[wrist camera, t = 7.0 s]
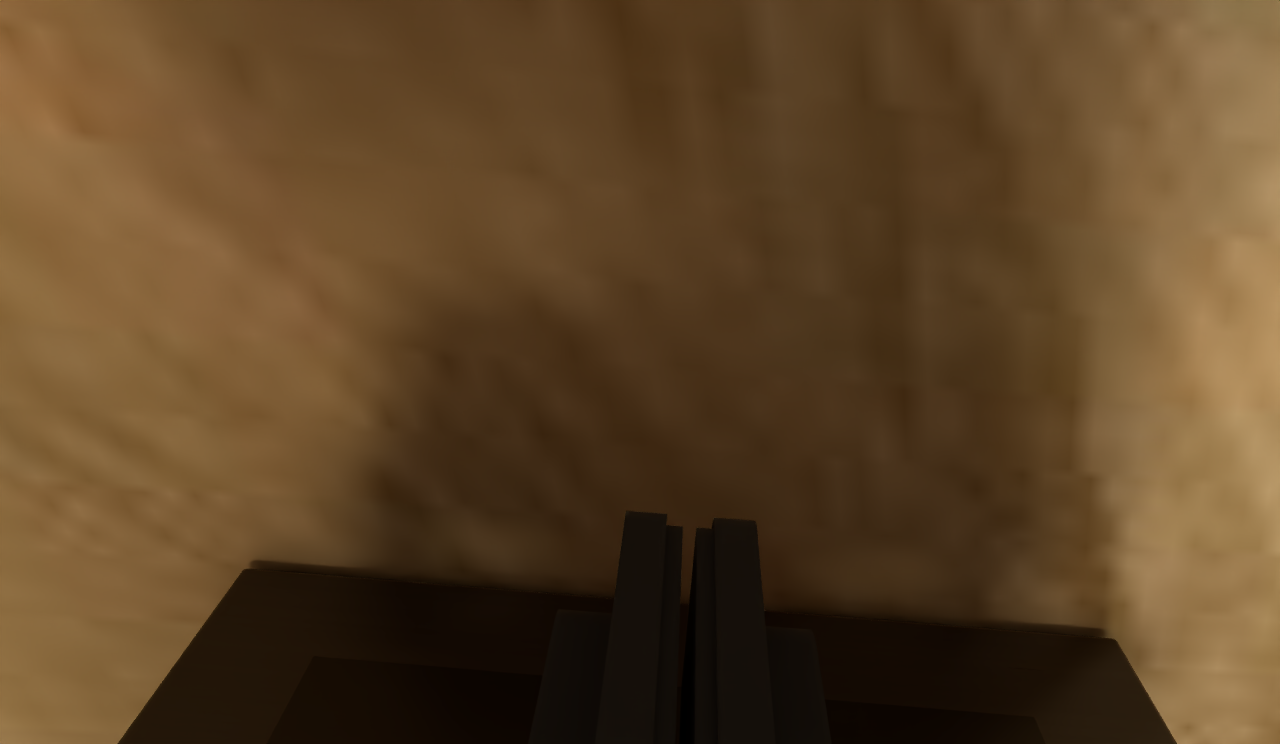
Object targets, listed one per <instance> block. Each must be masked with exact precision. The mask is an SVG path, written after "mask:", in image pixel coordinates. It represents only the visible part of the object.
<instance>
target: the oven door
mask: <svg viewBox="0 0 1280 744" xmlns="http://www.w3.org/2000/svg"><path fill="white" fill-rule="evenodd" d="M613 604H614V598H604V597H592V596H580V595H567V594H555V593H543V592H530V591H518V590H506V589H493V588H481V587H468V586H456V585H444V584H431V583H419V582H407V581H394V580H382V579H370V578H357V577H345V576H333V575H320V574H308V573H295V572H283V571H271V570H258V569H244V570H243V571H242V572H241V573H240V575H239V576H238V578H237V579H236V580H235V582H234V583H233V585H232V586H231V587H230V589H229V590H228V591H227V593H226V594H225V596H224V597H223V598H222V600H221V601H220V603H219V604H218V605H217V607H216V608H215V609H214V611H213V612H212V614H211V615H210V616H209V618H208V619H207V621H206V622H205V623H204V625H203V626H202V627H201V629H200V630H199V632H198V633H197V634H196V636H195V637H194V639H193V640H192V641H191V643H190V644H189V645H188V647H187V648H186V650H185V651H184V652H183V654H182V655H181V657H180V658H179V659H178V661H177V662H176V663H175V665H174V666H173V668H172V669H171V670H170V672H169V673H168V675H167V676H166V677H165V679H164V680H163V681H162V683H161V684H160V686H159V687H158V688H157V690H156V691H155V693H154V694H153V695H152V697H151V698H150V699H149V701H148V702H147V704H146V705H145V706H144V708H143V709H142V711H141V712H140V713H139V715H138V716H137V717H136V719H135V720H134V722H133V723H132V724H131V726H130V727H129V729H128V730H127V731H126V733H125V734H124V735H123V737H122V738H121V740H120V741H119V742H118V744H528V742H529V737H530V732H531V728H532V723H533V718H534V714H535V709H536V704H537V700H538V695H539V690H540V686H541V681H542V676H543V672H544V667H545V662H546V658H547V653H548V648H549V644H550V639H551V634H552V630H553V625H554V621H555V617H556V613H557V611H558V609H564V610H577V611H589V612H601V613H612V611H613ZM688 610H689V604H680V624H679V653H678V681H677V710H676V739H675V744H679V738H680V705H681V685H682V672H683V662H684V651H685V641H686V631H687V620H688ZM764 615H765V626H772V627H784V628H796V629H809V630H812V632H813V634H814V637H815V641H816V646H817V652H818V659H819V665H820V672H821V678H822V685H823V691H824V698H825V704H826V710H827V717H828V723H829V730H830V736H831V743H832V744H1177V743H1176V741H1175V740H1174V738H1173V736H1172V734H1171V733H1170V731H1169V729H1168V728H1167V726H1166V724H1165V722H1164V721H1163V719H1162V717H1161V716H1160V714H1159V712H1158V711H1157V709H1156V707H1155V705H1154V704H1153V702H1152V700H1151V699H1150V697H1149V695H1148V693H1147V692H1146V690H1145V688H1144V687H1143V685H1142V683H1141V682H1140V680H1139V678H1138V676H1137V675H1136V673H1135V671H1134V670H1133V668H1132V666H1131V665H1130V663H1129V661H1128V659H1127V658H1126V656H1125V654H1124V653H1123V651H1122V649H1121V647H1120V646H1119V644H1118V642H1117V641H1116V640H1114V639H1111V638H1099V637H1086V636H1074V635H1061V634H1049V633H1037V632H1024V631H1012V630H1000V629H987V628H975V627H963V626H950V625H938V624H926V623H913V622H901V621H888V620H876V619H864V618H851V617H839V616H827V615H814V614H802V613H790V612H777V611H765V610H764Z"/></svg>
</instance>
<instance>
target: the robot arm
mask: <svg viewBox="0 0 1280 744" xmlns="http://www.w3.org/2000/svg"><path fill="white" fill-rule="evenodd" d="M682 538H683V526H671V525H667V514H662V513H649V512H636V511H626V514H625V521H624V528H623V536H622V543H621V551H620V558H619V566H618V574H617V581H616V589H615V596H614V604H613V611H612V613H601V612H589V611H577V610H564V609H558V611H557V613H556V617H555V621H554V625H553V630H552V634H551V639H550V644H549V648H548V653H547V658H546V662H545V667H544V672H543V676H542V681H541V686H540V690H539V695H538V700H537V704H536V709H535V714H534V718H533V723H532V728H531V732H530V737H529V742H528V744H675V739H676V710H677V681H678V653H679V624H680V596H681V567H682ZM679 744H832V743H831V736H830V730H829V723H828V717H827V710H826V704H825V698H824V691H823V685H822V678H821V672H820V665H819V659H818V652H817V646H816V641H815V637H814V634H813V632H812V630H809V629H796V628H784V627H772V626H765V615H764V603H763V592H762V580H761V569H760V557H759V546H758V534H757V525H756V521H752V520H739V519H726V518H714V519H713V523H712V529H709V528H697V529H696V537H695V547H694V557H693V568H692V578H691V589H690V599H689V610H688V620H687V631H686V641H685V651H684V662H683V672H682V685H681V705H680V738H679Z"/></svg>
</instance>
